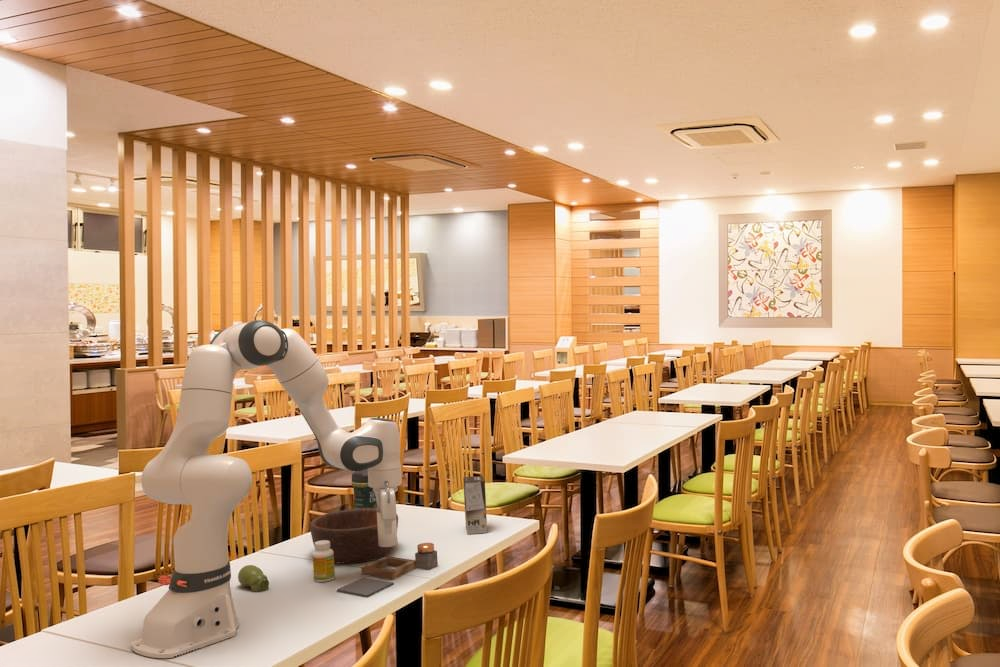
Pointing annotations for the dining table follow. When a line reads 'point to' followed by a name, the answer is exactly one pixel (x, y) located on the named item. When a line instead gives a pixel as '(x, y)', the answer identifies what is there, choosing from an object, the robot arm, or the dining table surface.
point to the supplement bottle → (323, 562)
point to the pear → (253, 578)
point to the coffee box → (475, 504)
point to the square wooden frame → (399, 565)
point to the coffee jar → (363, 491)
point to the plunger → (425, 548)
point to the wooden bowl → (350, 534)
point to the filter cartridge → (385, 539)
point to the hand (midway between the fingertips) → (387, 530)
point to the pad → (365, 587)
